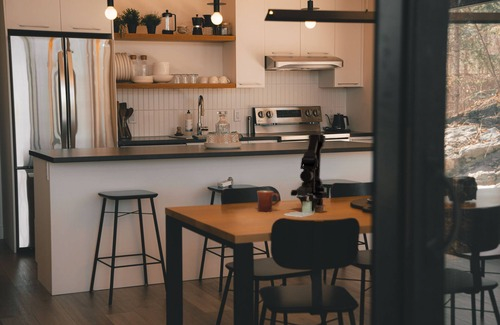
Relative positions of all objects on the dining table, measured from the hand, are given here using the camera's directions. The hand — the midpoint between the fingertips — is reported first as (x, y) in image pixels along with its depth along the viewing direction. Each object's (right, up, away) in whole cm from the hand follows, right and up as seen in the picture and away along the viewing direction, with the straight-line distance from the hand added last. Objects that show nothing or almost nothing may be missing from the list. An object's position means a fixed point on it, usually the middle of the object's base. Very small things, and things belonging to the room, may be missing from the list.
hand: (308, 210), depth 359 cm
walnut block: (+5, -1, +7) cm, 9 cm away
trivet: (-6, -2, -8) cm, 10 cm away
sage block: (0, -1, 0) cm, 1 cm away
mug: (-21, -1, +4) cm, 21 cm away
